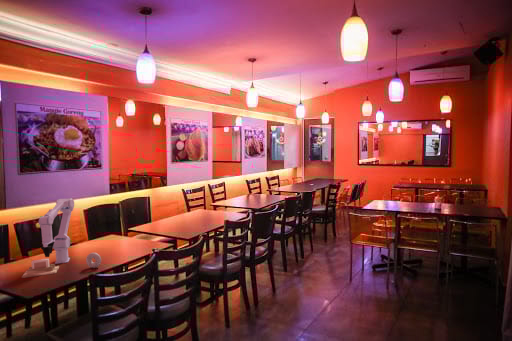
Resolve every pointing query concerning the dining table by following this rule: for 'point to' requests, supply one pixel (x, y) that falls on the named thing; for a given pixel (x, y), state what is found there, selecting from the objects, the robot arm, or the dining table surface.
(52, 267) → the notched stand
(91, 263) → the donut
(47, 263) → the pale pink flat block
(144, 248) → the dining table surface
